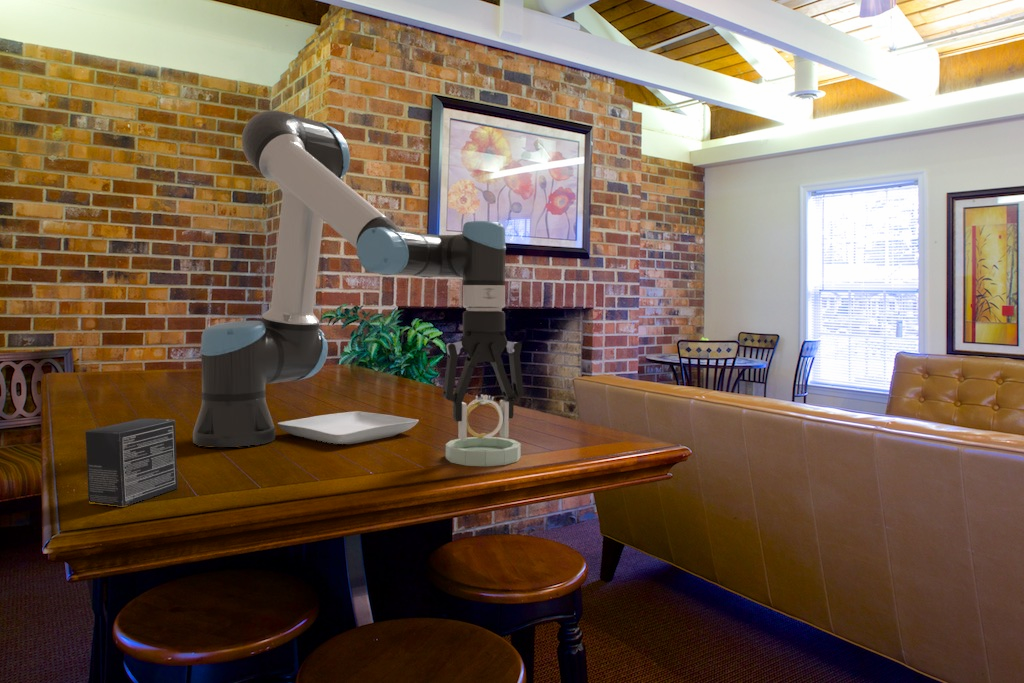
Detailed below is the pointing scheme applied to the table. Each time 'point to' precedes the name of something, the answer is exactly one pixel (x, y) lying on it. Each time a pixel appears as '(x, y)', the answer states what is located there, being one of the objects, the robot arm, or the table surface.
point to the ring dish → (483, 451)
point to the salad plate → (348, 427)
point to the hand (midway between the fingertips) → (483, 437)
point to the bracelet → (486, 400)
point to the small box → (131, 461)
